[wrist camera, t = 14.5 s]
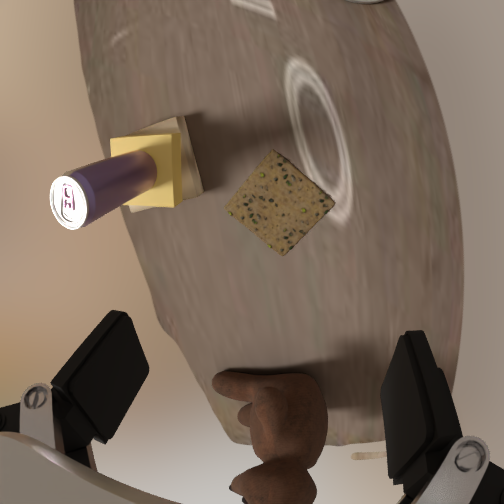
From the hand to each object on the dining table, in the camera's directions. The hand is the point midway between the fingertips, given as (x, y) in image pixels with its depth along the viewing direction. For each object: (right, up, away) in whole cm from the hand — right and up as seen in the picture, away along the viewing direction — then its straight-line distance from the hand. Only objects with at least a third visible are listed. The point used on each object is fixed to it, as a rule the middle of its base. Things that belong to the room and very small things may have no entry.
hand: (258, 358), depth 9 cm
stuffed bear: (+5, -27, +51) cm, 58 cm away
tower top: (-15, +16, +31) cm, 38 cm away
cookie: (+4, +11, +34) cm, 35 cm away
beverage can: (-15, +15, +28) cm, 35 cm away
